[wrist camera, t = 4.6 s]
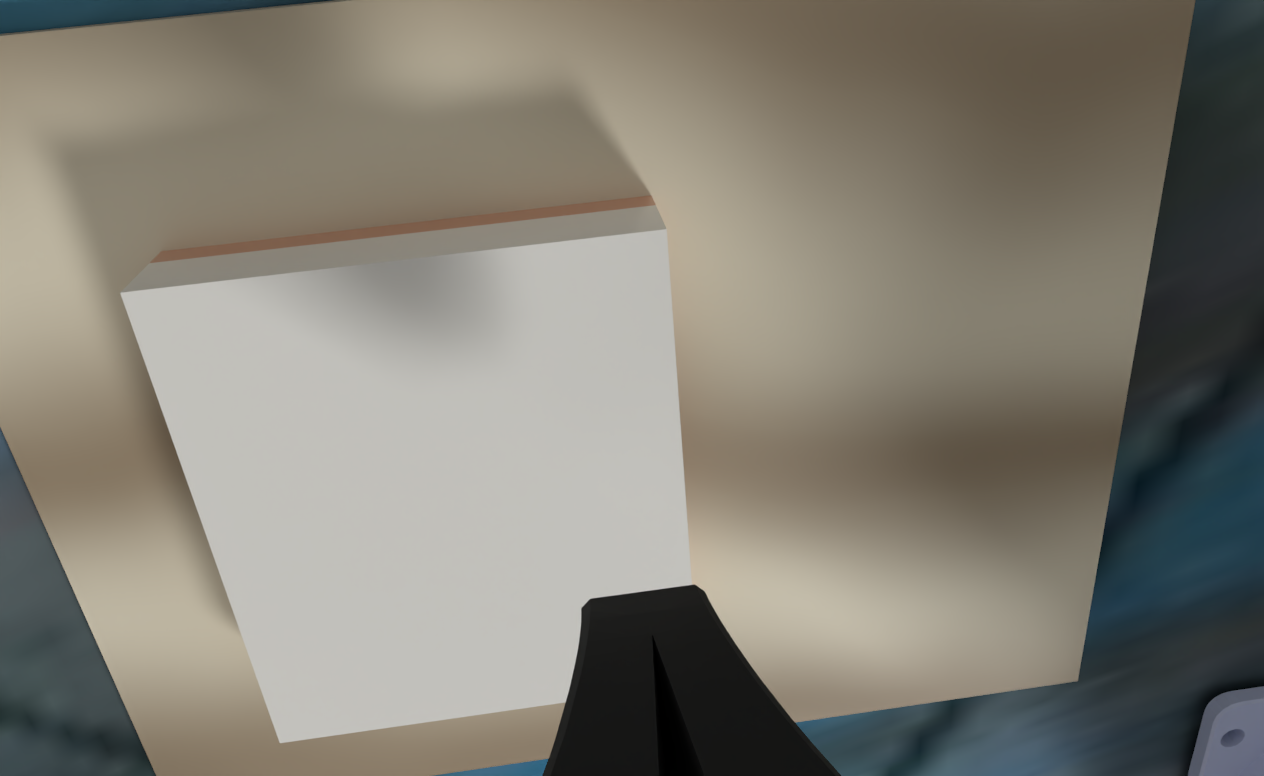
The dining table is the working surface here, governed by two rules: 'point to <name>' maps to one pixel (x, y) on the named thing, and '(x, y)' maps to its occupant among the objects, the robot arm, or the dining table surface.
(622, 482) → the tile
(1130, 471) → the dining table surface
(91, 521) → the mat
